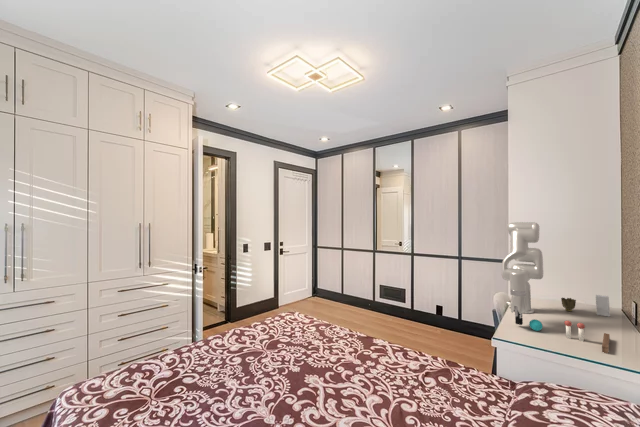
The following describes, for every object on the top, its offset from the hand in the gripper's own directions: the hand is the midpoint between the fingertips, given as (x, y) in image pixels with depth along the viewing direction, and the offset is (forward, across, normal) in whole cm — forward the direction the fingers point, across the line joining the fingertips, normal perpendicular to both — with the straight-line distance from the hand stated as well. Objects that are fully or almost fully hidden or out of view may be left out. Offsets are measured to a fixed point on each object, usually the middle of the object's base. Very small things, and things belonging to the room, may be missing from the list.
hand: (519, 324), depth 167 cm
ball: (-1, 0, +8) cm, 8 cm away
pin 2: (+2, -1, +27) cm, 27 cm away
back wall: (+2, -1, +36) cm, 36 cm away
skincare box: (+2, -56, +32) cm, 64 cm away
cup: (+2, -51, +16) cm, 54 cm away
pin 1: (+2, -1, +22) cm, 22 cm away
